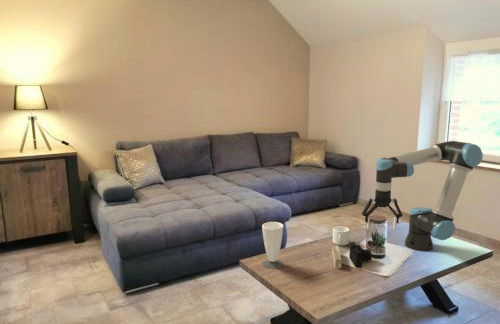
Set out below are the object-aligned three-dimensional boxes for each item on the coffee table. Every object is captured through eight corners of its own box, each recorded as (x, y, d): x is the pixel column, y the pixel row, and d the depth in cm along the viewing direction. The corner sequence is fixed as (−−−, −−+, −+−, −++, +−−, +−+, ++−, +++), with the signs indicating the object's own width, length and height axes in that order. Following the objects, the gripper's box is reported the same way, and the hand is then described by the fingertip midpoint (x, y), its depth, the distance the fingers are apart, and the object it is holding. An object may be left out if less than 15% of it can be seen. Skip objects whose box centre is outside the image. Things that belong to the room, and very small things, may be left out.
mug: (348, 249, 217) (349, 234, 215) (330, 246, 221) (331, 232, 219) (350, 241, 228) (351, 227, 226) (333, 239, 232) (334, 225, 230)
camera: (374, 268, 193) (375, 250, 191) (354, 268, 193) (354, 250, 191) (367, 256, 207) (367, 239, 205) (347, 256, 207) (348, 239, 205)
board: (337, 254, 210) (337, 245, 209) (341, 268, 193) (341, 259, 192) (332, 253, 211) (332, 245, 210) (335, 268, 193) (335, 259, 192)
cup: (287, 263, 200) (288, 224, 196) (274, 270, 191) (274, 230, 187) (271, 257, 207) (271, 220, 203) (257, 264, 199) (257, 225, 195)
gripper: (406, 188, 194) (403, 226, 198) (357, 187, 197) (355, 225, 201) (410, 191, 187) (408, 232, 191) (359, 190, 190) (358, 230, 194)
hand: (381, 228), depth 196 cm, fingers open, 13 cm apart
